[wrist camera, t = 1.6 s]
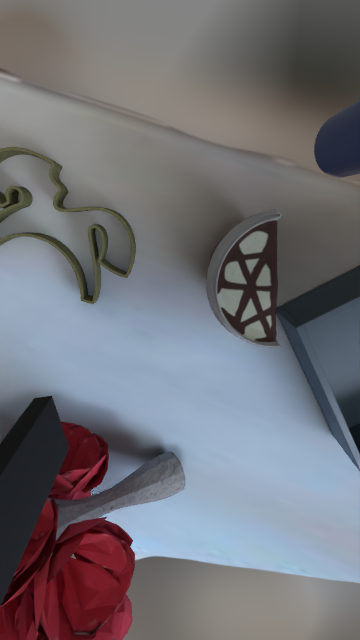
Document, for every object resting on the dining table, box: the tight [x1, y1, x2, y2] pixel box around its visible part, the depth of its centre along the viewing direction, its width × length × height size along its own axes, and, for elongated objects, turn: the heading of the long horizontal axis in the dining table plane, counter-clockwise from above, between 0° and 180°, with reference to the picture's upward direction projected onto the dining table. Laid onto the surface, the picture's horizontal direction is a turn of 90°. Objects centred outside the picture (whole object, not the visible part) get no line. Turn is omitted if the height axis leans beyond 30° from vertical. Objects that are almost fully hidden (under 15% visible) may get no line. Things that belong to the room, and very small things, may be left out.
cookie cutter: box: [0, 147, 136, 304], centre depth 32 cm, size 18×12×2 cm, turn 63°
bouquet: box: [0, 422, 185, 640], centre depth 33 cm, size 22×24×30 cm
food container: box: [207, 210, 283, 347], centre depth 31 cm, size 12×6×10 cm, turn 5°
